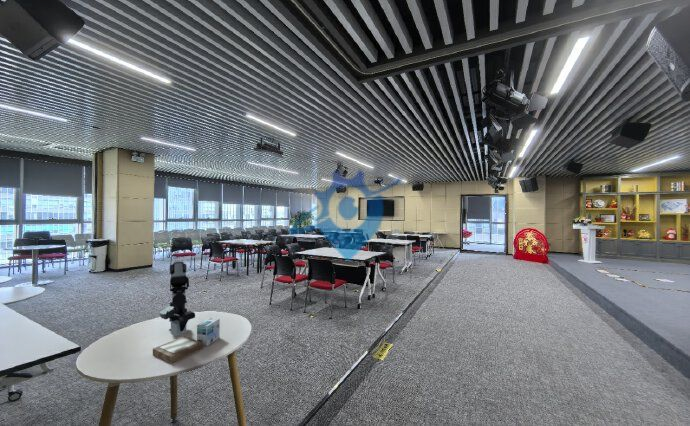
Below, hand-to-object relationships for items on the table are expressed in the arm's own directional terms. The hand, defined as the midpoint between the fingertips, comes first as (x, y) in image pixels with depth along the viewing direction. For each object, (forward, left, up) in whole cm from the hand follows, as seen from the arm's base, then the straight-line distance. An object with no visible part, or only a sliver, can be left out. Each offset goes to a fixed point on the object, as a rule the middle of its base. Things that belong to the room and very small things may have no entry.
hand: (178, 330), depth 142 cm
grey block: (0, 0, -2) cm, 2 cm away
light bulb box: (+3, +15, -11) cm, 19 cm away
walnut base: (0, 0, -11) cm, 11 cm away
